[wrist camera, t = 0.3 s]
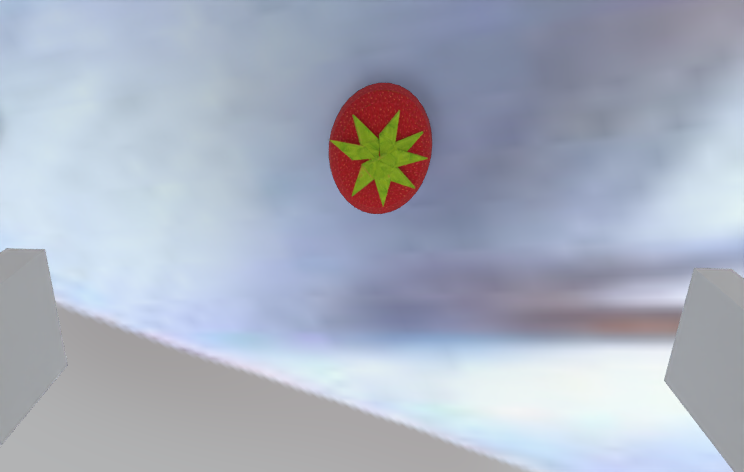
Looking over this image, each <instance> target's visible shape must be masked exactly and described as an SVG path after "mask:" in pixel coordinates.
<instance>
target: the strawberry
mask: <svg viewBox="0 0 744 472" xmlns="http://www.w3.org/2000/svg"><path fill="white" fill-rule="evenodd" d="M431 152H432V132H431V127H430V123H429V119H428V116H427V114H426V112H425V110H424V108H423V106H422V105H421V103H420V102H419V100H418V99H417V98H416V97H415V96H414V95H413V94H412V93H411V92H410V91H408V90H407V89H405V88H403V87H401V86H399V85H395V84H392V83H376V84H372V85H368V86H366V87H365V88H363V89H361V90H359V91H357V92H356V93H355V94H354V95H353V96H351V97H350V98H349V99H348V100H347V102H346V103H345V104H344V105H343V107H342V108H341V110H340V112H339V114H338V115H337V117H336V120H335V122H334V125H333V128H332V130H331V135H330V141H329V162H330V168H331V172H332V175H333V178H334V181H335V183H336V185H337V187H338V189H339V191H340V193H341V194H342V195H343V196H344V198H345V199H346V200H347V201H348V202H349V203H350V204H351V205H353V206H354V207H355V208H357V209H359V210H361V211H363V212H367V213H371V214H383V213H387V212H391V211H393V210H396V209H398V208H400V207H401V206H403V205H404V204H405V203H407V202H408V201H409V200H410V199H411V198H412V197H413V196H414V194H415V193H416V192H417V190H418V189H419V187H420V186H421V184H422V182H423V180H424V178H425V175H426V173H427V170H428V167H429V163H430V159H431Z"/></svg>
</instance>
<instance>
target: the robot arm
mask: <svg viewBox="0 0 744 472" xmlns="http://www.w3.org/2000/svg"><path fill="white" fill-rule="evenodd" d="M67 366H68V363H67V358H66V353H65V348H64V343H63V338H62V333H61V328H60V323H59V318H58V313H57V307H56V302H55V297H54V292H53V287H52V282H51V277H50V272H49V267H48V262H47V257H46V252H45V249H11V248H6V249H5V250H3V251H2V252H1V253H0V446H1V445H2V444H3V443H4V442H5V440H6V439H7V438H8V437H9V436H10V434H11V433H12V432H13V431H14V430H15V428H16V427H17V426H18V425H19V424H20V422H21V421H22V420H23V419H24V417H25V416H26V415H27V414H28V413H29V411H30V410H31V409H32V408H33V406H34V405H35V404H36V403H37V402H38V401H39V399H40V398H41V397H42V396H43V395H44V393H45V392H46V391H47V390H48V388H49V387H50V386H51V385H52V384H53V382H54V381H55V380H56V379H57V378H58V376H59V375H60V374H61V373H62V372H63V370H64V369H65V368H66V367H67ZM664 381H665V382H666V384H667V385H668V386H669V388H670V389H671V390H672V392H673V393H674V394H675V395H676V397H677V398H678V399H679V401H680V402H681V403H682V405H683V406H684V407H685V408H686V410H687V411H688V412H689V414H690V415H691V416H692V418H693V419H694V420H695V422H696V423H697V424H698V425H699V427H700V428H701V429H702V431H703V432H704V433H705V435H706V436H707V437H708V438H709V440H710V441H711V442H712V444H713V445H714V446H715V448H716V449H717V450H718V452H719V453H720V454H721V455H722V457H723V458H724V459H725V461H726V462H727V463H728V465H729V466H730V467H731V468H732V470H733V471H734V472H744V278H743V277H741V276H740V275H739V274H737V273H736V272H735V271H733V270H732V269H713V268H694V270H693V274H692V278H691V281H690V285H689V289H688V293H687V296H686V300H685V304H684V307H683V311H682V315H681V319H680V322H679V326H678V330H677V334H676V337H675V341H674V345H673V349H672V352H671V356H670V360H669V364H668V367H667V371H666V375H665V379H664Z"/></svg>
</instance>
